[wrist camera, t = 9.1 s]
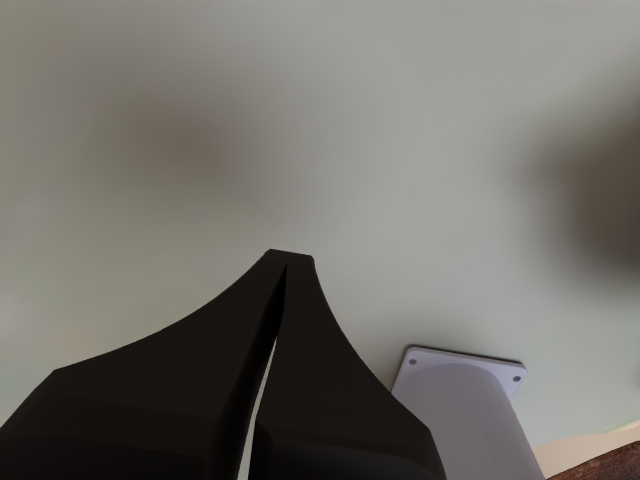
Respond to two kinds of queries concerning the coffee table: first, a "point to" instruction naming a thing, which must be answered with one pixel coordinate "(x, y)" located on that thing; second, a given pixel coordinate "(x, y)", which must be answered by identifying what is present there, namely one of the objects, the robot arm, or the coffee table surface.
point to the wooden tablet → (607, 466)
